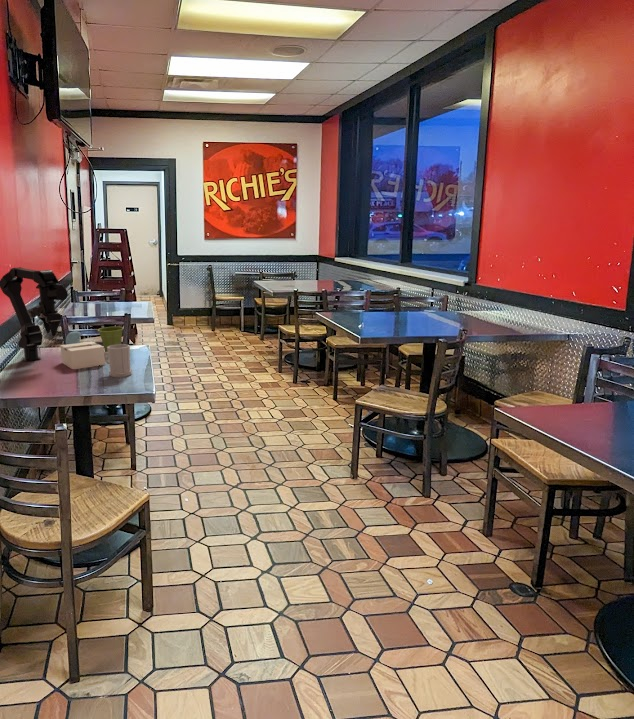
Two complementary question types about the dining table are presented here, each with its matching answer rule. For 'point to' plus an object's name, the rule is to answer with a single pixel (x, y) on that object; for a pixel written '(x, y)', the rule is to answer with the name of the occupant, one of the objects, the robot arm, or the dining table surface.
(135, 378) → the dining table surface
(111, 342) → the plant pot
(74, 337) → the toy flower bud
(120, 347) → the cup
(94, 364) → the box
